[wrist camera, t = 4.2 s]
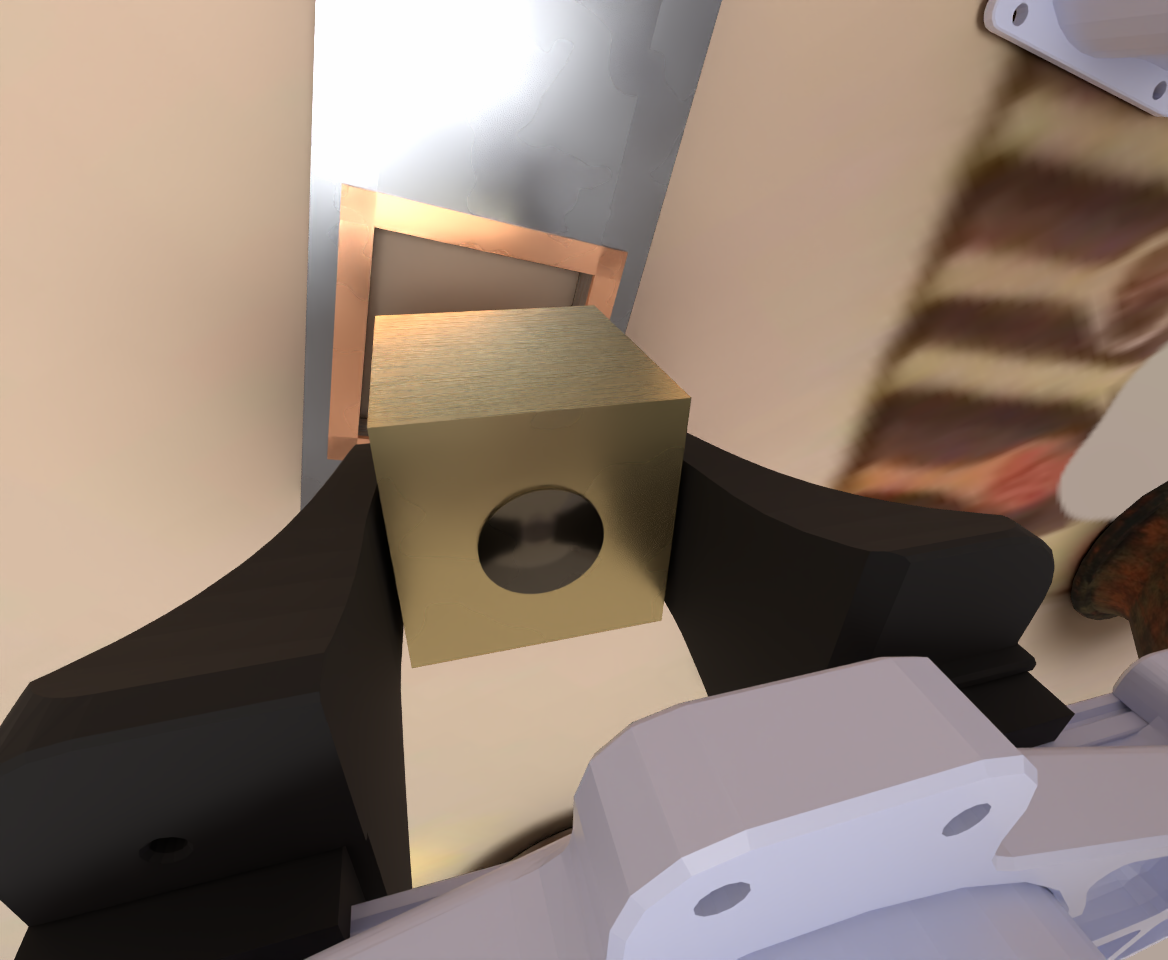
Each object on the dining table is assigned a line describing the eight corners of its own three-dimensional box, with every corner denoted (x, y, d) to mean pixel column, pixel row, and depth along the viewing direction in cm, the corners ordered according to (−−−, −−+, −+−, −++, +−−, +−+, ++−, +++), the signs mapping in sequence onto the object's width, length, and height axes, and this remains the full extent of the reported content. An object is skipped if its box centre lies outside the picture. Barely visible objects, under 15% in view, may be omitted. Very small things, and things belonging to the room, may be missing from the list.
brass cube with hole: (594, 305, 13) (692, 399, 8) (587, 481, 15) (662, 622, 11) (375, 315, 12) (366, 430, 7) (405, 504, 14) (412, 671, 10)
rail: (889, -673, 11) (949, -765, 10) (560, 509, 23) (569, 531, 22) (362, -1227, 7) (358, -1464, 6) (304, 493, 19) (299, 518, 18)
